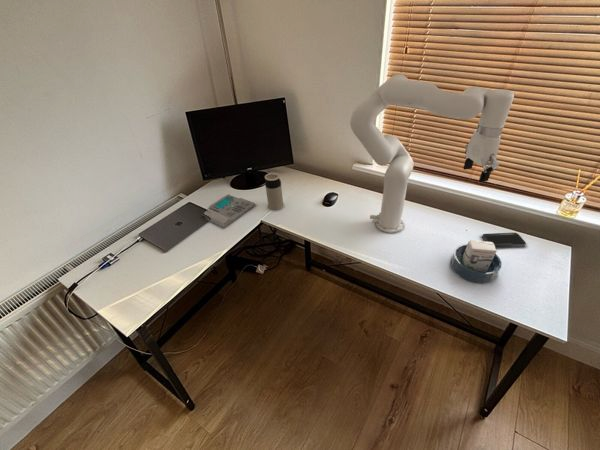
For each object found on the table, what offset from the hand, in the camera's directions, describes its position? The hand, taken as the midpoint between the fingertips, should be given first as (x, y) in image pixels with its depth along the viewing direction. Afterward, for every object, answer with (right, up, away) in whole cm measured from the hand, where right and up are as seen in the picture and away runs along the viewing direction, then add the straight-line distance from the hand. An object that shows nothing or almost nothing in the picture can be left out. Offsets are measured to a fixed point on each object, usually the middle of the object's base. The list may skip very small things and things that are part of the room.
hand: (475, 174), depth 113 cm
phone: (+22, -26, +18) cm, 38 cm away
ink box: (+3, -35, +7) cm, 36 cm away
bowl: (+3, -36, +7) cm, 36 cm away
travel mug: (-78, -9, +48) cm, 92 cm away
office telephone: (-104, -11, +48) cm, 115 cm away
